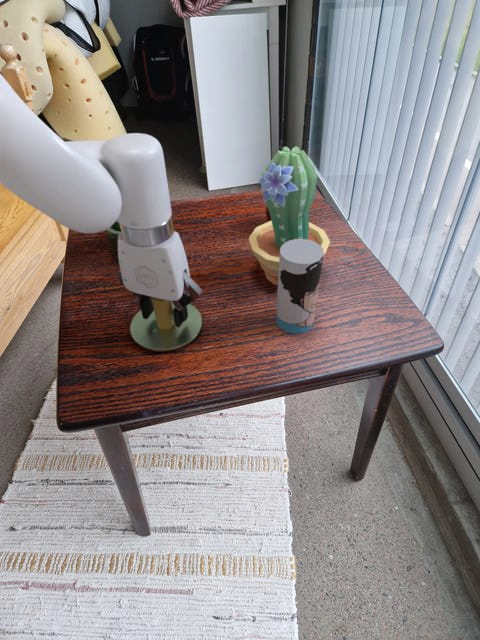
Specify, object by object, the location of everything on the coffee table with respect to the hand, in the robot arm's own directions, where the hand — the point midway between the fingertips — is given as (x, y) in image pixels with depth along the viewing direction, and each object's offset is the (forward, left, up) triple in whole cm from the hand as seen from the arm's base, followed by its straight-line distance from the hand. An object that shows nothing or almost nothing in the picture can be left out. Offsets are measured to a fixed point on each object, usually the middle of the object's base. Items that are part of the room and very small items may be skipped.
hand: (165, 317), depth 73 cm
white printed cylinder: (+21, +9, -3) cm, 23 cm away
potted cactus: (+16, +22, -3) cm, 27 cm away
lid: (0, 0, -2) cm, 2 cm away
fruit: (+11, +39, -3) cm, 41 cm away
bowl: (-17, +20, -3) cm, 26 cm away
